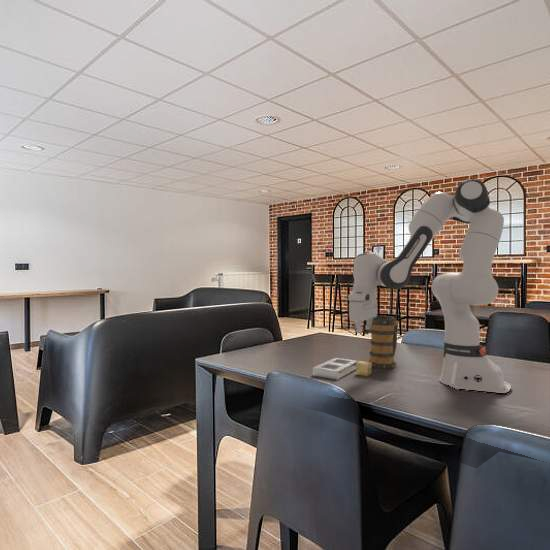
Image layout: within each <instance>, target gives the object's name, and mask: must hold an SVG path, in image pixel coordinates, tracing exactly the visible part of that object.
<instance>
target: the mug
mask: <svg viewBox="0 0 550 550" xmlns="http://www.w3.org/2000/svg"><path fill="white" fill-rule="evenodd" d="M398 325H399V323H398V320H397V318H396V317H393V316H389V315H388V316H387V315H377V317H375V318H373V321H372V324H371V330H369V333H371V334H370V335H371V336H370V337H371V339H370V340H369V342H370V348H371V349H370V351H369V355H370V357H369V359H368V362H372V368H375V369H382V370H387V369H389V370H390V369H394V368H395V367H396V365H397V364H398V363H396V361H395V360H394V357H395V354H396V350H397V342H398V336H397V334H398V333H397V332H398V331H397V329H398V328H397V326H398Z"/></svg>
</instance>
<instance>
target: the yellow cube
mask: <svg viewBox="0 0 550 550" xmlns="http://www.w3.org/2000/svg"><path fill="white" fill-rule="evenodd" d="M372 368H373V367H372V362H369V361H365V360H358V362H357V363H356V370H355V375H356V376H357V375H358V376H362V377H369V376H370V375H371V374H372Z"/></svg>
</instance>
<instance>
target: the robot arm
mask: <svg viewBox="0 0 550 550" xmlns="http://www.w3.org/2000/svg"><path fill="white" fill-rule="evenodd" d="M490 204H491V199H490V196H489V192H488V189H487V186H486V184H484V182H483V181H481V180H479V179H477V178H470V179H469V178H468V179H465V180H464V181H462V182H460V183H459V185H458V186H457V187H456V189H455V192H454V194H448V193H446V192H442V191H438V192H437V191H436V192H434V193H433V194H432V195H430V196H429V197H428V198H427V199H426V201H424V203H422V205H421V206H420V207H419V208H418V209H417V211H416V212H415V214H414V215H413V216H412V218H411V220H410V222H409V224H408V232H409V234H410V236H409V239H408V242H407V243H406V244H405V246H404V247H403V249H402V250H401V251H400V253H399V255H398V256H397V257H396V258H394V259H393V260H391V261H390V260H387V259H385V258H383V257H381V256H380V255H378V254H377V253H376V252H373V251H372V252H371V251H370V252H364V253H359V254H357V255H356V256H355V258H354V262H353V269H352V270H353V273H352V274H353V285H352V290H351V292H350V293H348V295H347V296H348V297H347V298H348V299H347V300H348V301H349V304H348V317H349V321H350V322H354V325H355V328H356V329H355V333H356V334H361V333H363V327H362V322H364V321H366V324H365V330H366V331H370V330H371V324H372V321H373V318H375V317H377V316H378V300H377V294H378V293H377V292H378V288H377V286H383V287H385V288H388V289H390V290H400V289H403V288H405V287H406V286H407V285H408V283H409V281H410V280H411V277H412V272H413V270H414V266H415V264H416V263H417V262H418V260H419V259H420V257H421V256H422V254H423V253H424V251H425V250H426V249H427V247H428V246H429V244H430V243H431V242H432V240H433V239H434V238H435V237H436V236H437V235H438V234H439V232H441V230H442V228H444V225H445V224H446V223H447V221H448V220H449V219H450V220H452V221H454V222H459V223H461V224H466V225H468V224H469V225H468V228H467V231H466V234H465V237H464V238H463V241H462V242H461V243H462V244H461V246H460V249H459V251H458V255H459V258H460V259H461V260H462V262H463V264H462V270H461V272H446V273H442V274H438V275H436V277H434V279H433V281H432V282H431V291H432V294H433V296H434V297H435V298H436V299H437V301H438V302H439V304H440V307H441V311H442V314H443V320H444V342H443V346H442V347H443V348H442V355H443V356H442V357H443V365H442V369H441V374H440V377H439V382H440V383H442V384H444V385H446V386H448V385H449V386H448V387H451V388H452V387H453V388H452V389H454V388H455V389H454V390H459V389H466V390H465V391H468V390H477V391H489V392H508V391H509V390H510V389H511V390H512V386H511V384H510V383H509V382H507V381H505V378H504V372H503V371H502V368H501V367H500V366H499V365H497V364H495V362H493V361H492V360H491V359H489V358H488V356H486V354H487V350H486V349H487V348H486V346H484V345H481V344H480V322H479V319H477V317H476V316H475V315H474V314H473V312H472V310H471V307H470V306H475V307H477V306H478V307H479V306H486V305H490V304H492V303H494V301H496V299H497V297H498V294H499V285H498V282H497V281H496V279H495V278H494V276H493V271H492V267H493V266H492V265H493V260H494V256H495V255H496V251H497V249H498V246H499V244H500V240H501V237H502V233H503V230H504V224H505V219H504V216H503V214H502V213H501V212H500V211H498V210H495V209H493V208H490ZM477 391H476V392H477Z"/></svg>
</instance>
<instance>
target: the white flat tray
mask: <svg viewBox="0 0 550 550" xmlns="http://www.w3.org/2000/svg"><path fill="white" fill-rule="evenodd" d="M357 362H359V360H354V359H348V358H342V357H341V358H339V357H333V358H331V359H329V360H327V361H324V362H323V363H321V364H318V365H316V366H313V367H312V376H313V377H319V378H320V377H321V378H326V379H331V380H337V381H338V380H339V379H342V378H344V377H345V376H347V375H349V374H350V373H352V372H354V371H356V363H357Z"/></svg>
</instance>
